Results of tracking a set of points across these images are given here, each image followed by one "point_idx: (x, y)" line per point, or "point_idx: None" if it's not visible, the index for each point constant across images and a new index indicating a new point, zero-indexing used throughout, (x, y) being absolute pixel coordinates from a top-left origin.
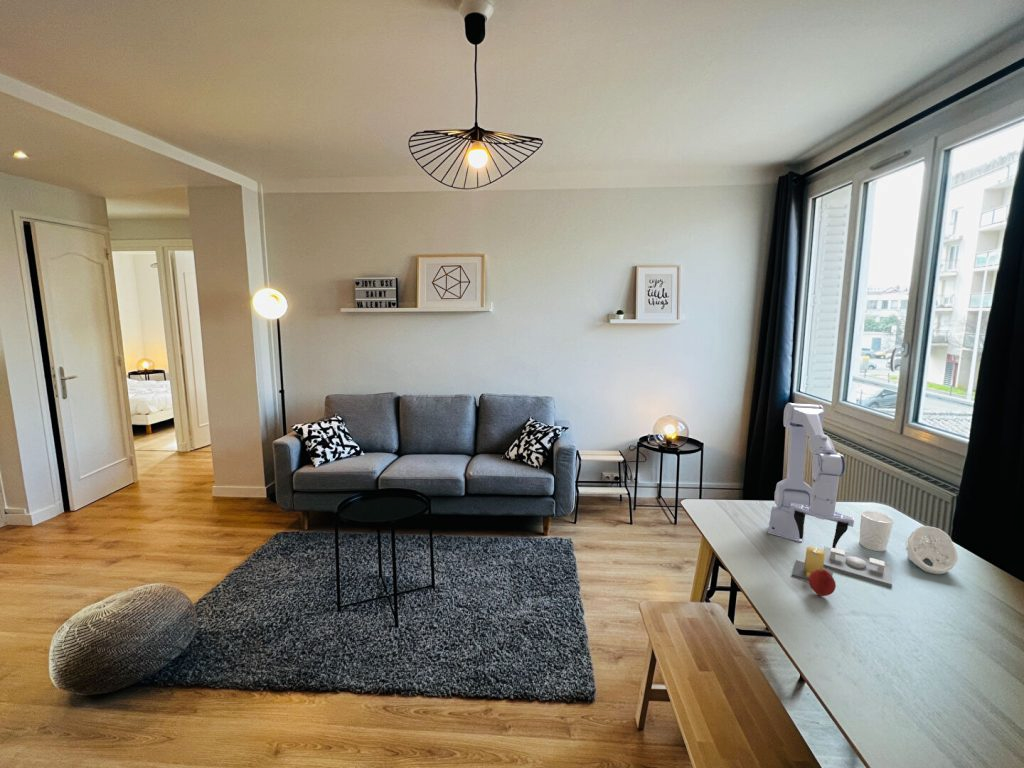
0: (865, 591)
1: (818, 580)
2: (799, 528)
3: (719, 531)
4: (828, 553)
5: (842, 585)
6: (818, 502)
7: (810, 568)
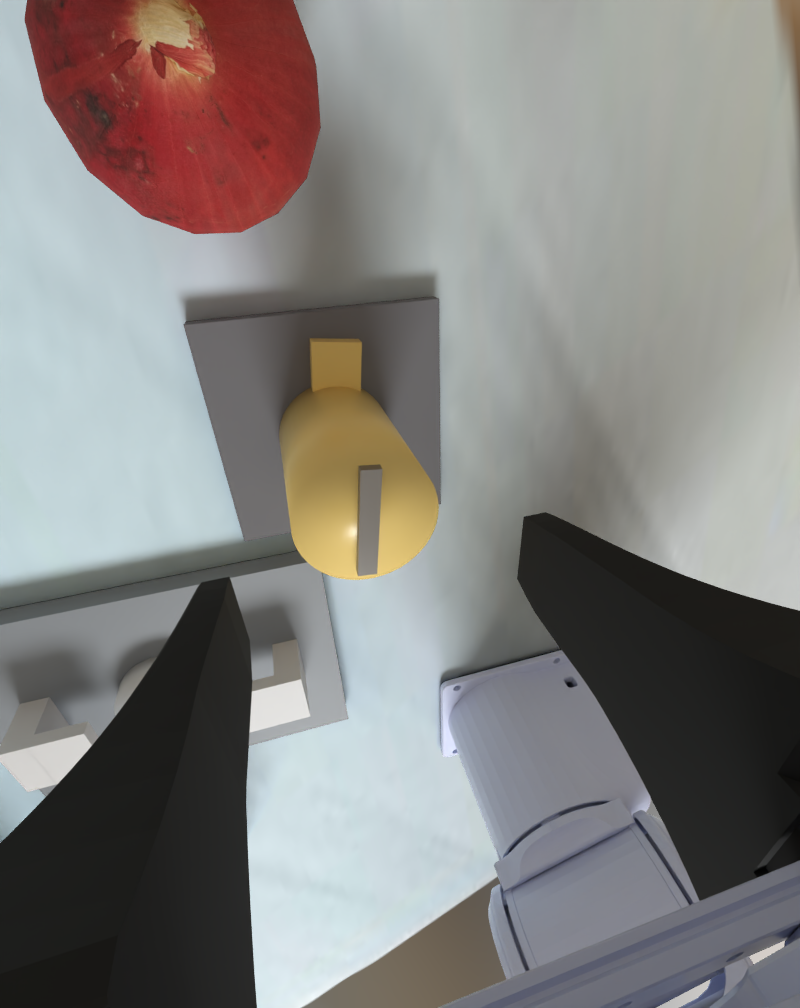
0: (3, 464)
1: None
2: (656, 571)
3: (775, 504)
4: (316, 679)
5: (144, 428)
6: None
7: (352, 398)
